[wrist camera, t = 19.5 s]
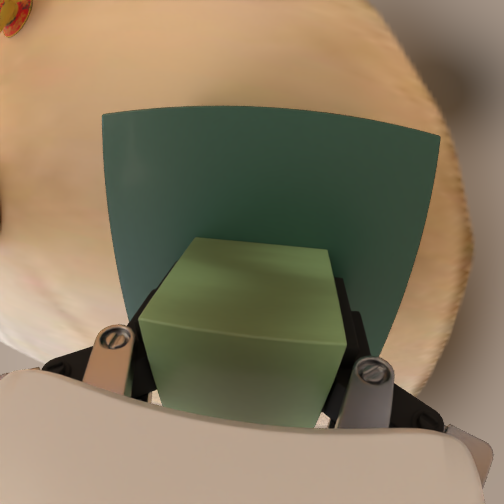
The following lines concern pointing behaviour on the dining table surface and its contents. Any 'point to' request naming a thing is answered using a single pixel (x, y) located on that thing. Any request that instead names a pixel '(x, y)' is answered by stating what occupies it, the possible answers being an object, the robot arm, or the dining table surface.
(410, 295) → the dining table surface
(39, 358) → the dining table surface
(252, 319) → the block
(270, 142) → the cabinet
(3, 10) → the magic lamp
